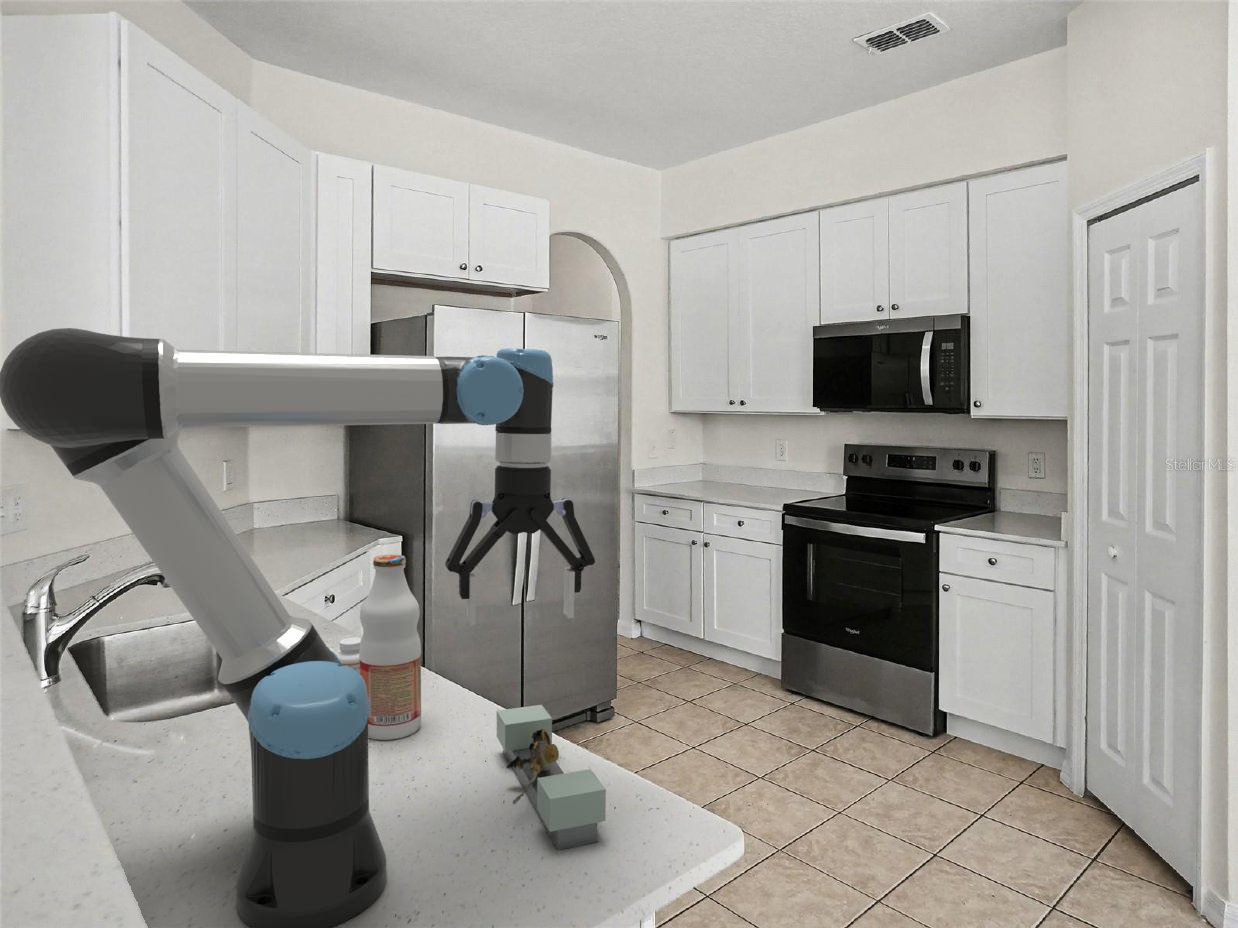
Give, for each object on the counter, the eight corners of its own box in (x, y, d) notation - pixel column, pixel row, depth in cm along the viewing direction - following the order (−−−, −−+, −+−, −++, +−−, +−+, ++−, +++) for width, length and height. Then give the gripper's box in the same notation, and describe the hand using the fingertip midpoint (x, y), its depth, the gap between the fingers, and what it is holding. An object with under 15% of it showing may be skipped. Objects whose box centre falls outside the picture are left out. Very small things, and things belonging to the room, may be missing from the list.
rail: (557, 850, 94) (557, 830, 94) (503, 751, 120) (503, 735, 120) (597, 842, 96) (597, 822, 96) (535, 746, 122) (535, 730, 122)
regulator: (541, 812, 99) (571, 742, 113) (529, 785, 99) (561, 718, 113) (488, 822, 101) (524, 752, 115) (476, 796, 101) (514, 729, 115)
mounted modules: (549, 831, 94) (550, 799, 93) (496, 736, 120) (496, 710, 119) (605, 820, 96) (605, 789, 96) (541, 729, 122) (541, 704, 122)
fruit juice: (393, 746, 121) (391, 565, 119) (347, 733, 126) (344, 559, 123) (433, 724, 130) (432, 555, 127) (389, 713, 134) (387, 549, 132)
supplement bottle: (350, 686, 146) (350, 634, 145) (374, 690, 144) (373, 638, 143) (329, 696, 141) (328, 642, 140) (353, 701, 139) (352, 646, 138)
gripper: (602, 462, 115) (598, 606, 117) (425, 462, 107) (424, 617, 108) (619, 466, 108) (615, 619, 110) (431, 467, 100) (430, 633, 101)
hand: (520, 618), depth 109 cm, fingers open, 13 cm apart
